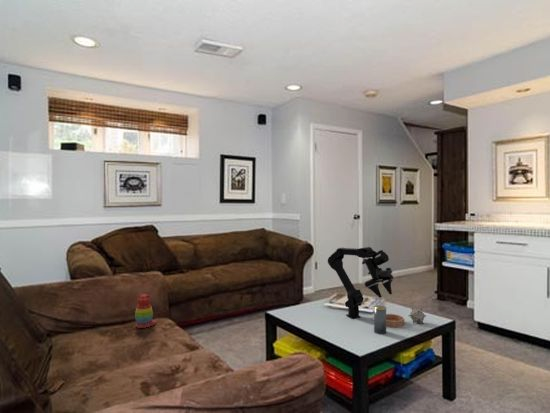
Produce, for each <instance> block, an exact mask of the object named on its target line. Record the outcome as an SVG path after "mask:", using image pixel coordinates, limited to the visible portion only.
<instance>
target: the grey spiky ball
mask: <svg viewBox="0 0 550 413" xmlns="http://www.w3.org/2000/svg"><path fill="white" fill-rule="evenodd" d="M408 317H410V318H411V320H412V322H413V323H412V324H415V323H421V324H422V325H423V324H424V322H423V321H424V319H425V317H427V315H426V314H425V313H424V312H423V309H422V308H420V309H419V308H413V307H412V308H411V311H410V314H409V315H408Z"/></svg>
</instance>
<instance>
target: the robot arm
mask: <svg viewBox="0 0 550 413" xmlns="http://www.w3.org/2000/svg"><path fill="white" fill-rule="evenodd" d="M345 256H356V257H358V258H361V259H363V260H362V261H361V262H362V263H361V265H365V266H366V268H367V270H368V272H367V274H368V275H370V277H371V279H368V280H366V281H364V286H365V288H367V289H369V290H370V291H371V292H373V293H374V294H375V295H376V296H378V298H382V297H383V296H382V294H381V290H380V289H379V288H380V287H379V283H381V284H382V286H383V287H384V288H385V290H386V292H387V293H388V294H389V295H390V296H391V295H392V294H393V291H392V286H391V285H392V282H393V280H394V275H392V274H393V270H392V268H391V267H386V268H385V269H382V268H381V267H379V266H381V265H383V264H385V263H387V262H389V261H390V260H389V256H388V254H387V253H386V252H385V251H384V250H383V249H380V250H378V251H375V250H374V249H373V248H372V247H371V246H367V247H366V246H365V247H361V248H360V247H359V248H352V247H338V248H336V250H335V251H334V252H333V253H332V254H331V255H330V256H329V257H328V259H327V264H328V265H329V267H330V268H331V269H333V271H335V273H336V274H337V276H338V278H339V280H340V282H341V284H342V286H343V288H345V291H346V293H347V294H346V296H347V297H346V298H347V301H345V302H344V305H345V307H346V308H347V310H348V312H347V313H346V317H347V318H350V319H351V320H353V319H359V318H362V316H361V315H360V310H359V307H360V306H362V304H363V303H364V296H363V295H364V294H362V291H361V290H360V289H357V288H356V287H355V286H354V285H353V283H352V281H351V280H350V278H349V276H348V274H347V272H346V270H345V268H344V262H343V259H344V258H345Z"/></svg>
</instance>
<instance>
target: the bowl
mask: <svg viewBox="0 0 550 413" xmlns="http://www.w3.org/2000/svg"><path fill="white" fill-rule="evenodd" d="M404 326H405V318H404V317H403V316H401V315H399V314H393V313H386V327H389V328H401V327H404Z"/></svg>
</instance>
